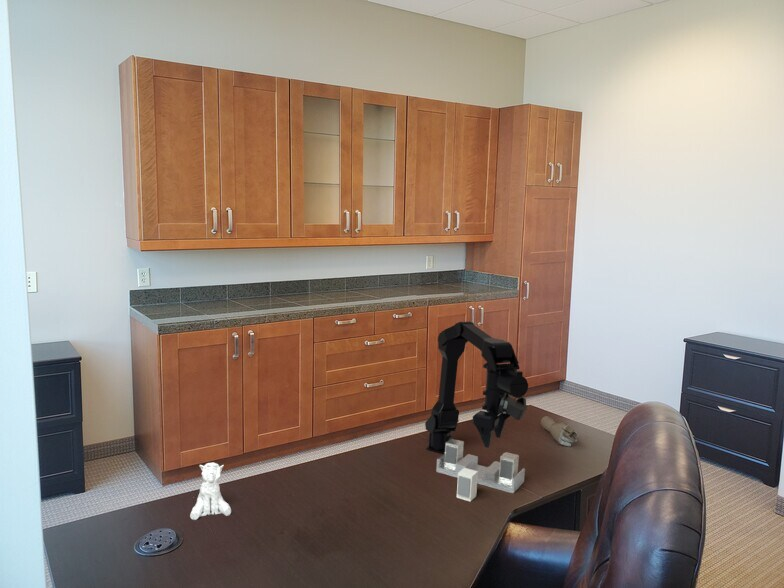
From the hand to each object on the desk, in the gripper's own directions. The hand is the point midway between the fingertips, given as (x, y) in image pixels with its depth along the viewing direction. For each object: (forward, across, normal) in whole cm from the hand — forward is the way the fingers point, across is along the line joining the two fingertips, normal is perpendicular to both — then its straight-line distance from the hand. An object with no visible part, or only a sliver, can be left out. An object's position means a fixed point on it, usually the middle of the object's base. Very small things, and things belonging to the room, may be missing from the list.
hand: (492, 442), depth 169 cm
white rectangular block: (+13, -9, +3) cm, 16 cm away
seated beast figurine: (+13, -52, +54) cm, 76 cm away
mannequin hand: (+13, +49, -8) cm, 51 cm away
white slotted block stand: (+13, +5, +5) cm, 15 cm away
